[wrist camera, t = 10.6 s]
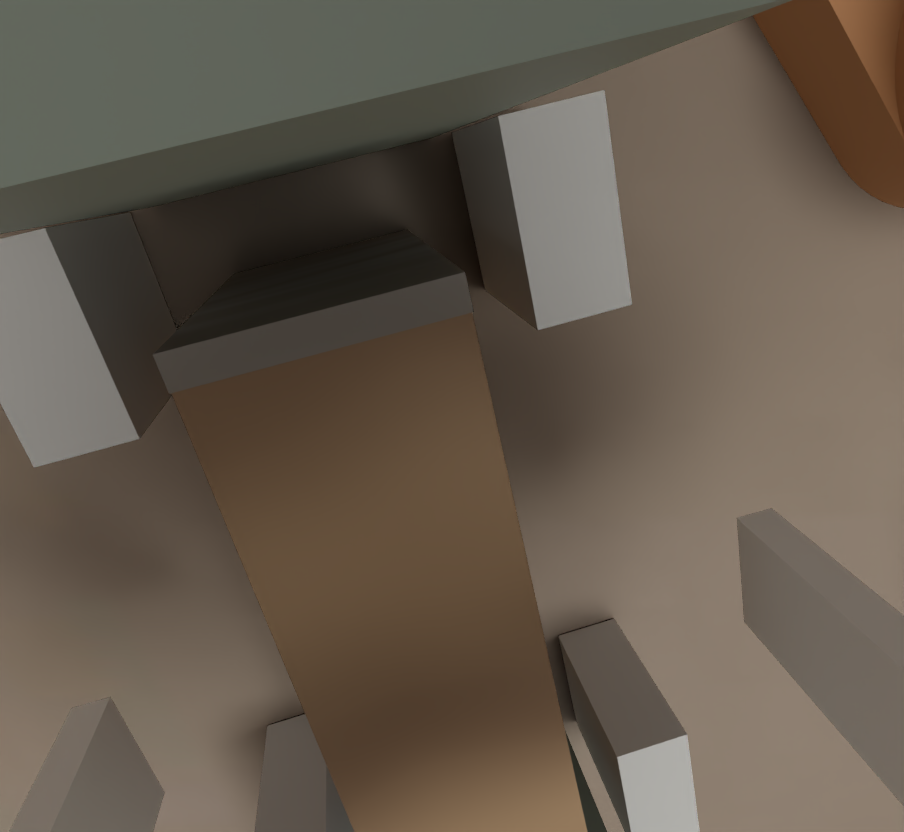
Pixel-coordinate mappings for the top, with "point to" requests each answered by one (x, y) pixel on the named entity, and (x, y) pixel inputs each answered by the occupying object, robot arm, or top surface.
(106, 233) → the green fixture with posts
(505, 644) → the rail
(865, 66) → the bracket
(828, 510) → the top surface
